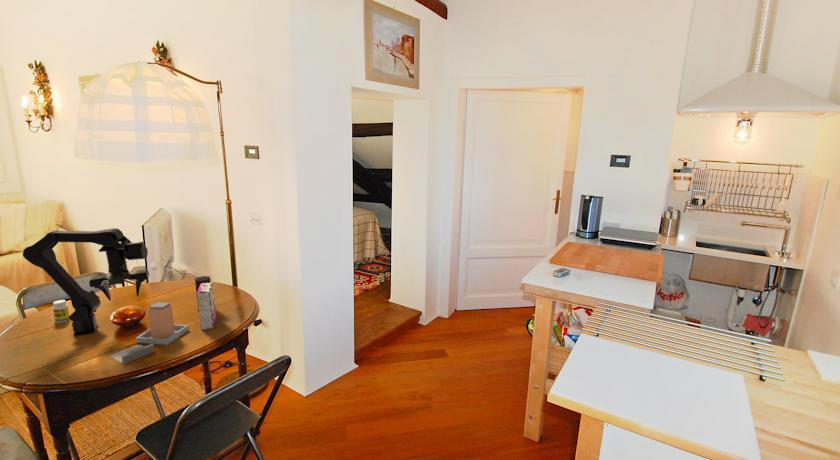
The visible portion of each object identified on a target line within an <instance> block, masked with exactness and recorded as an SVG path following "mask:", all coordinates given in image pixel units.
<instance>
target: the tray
mask: <svg viewBox="0 0 840 460" xmlns="http://www.w3.org/2000/svg"><path fill="white" fill-rule="evenodd" d="M174 328H175V333H174V334H173V335H171V336H170V337H168V338H167V339H159V338H152V337H151V330H150V328H149V329H148V330H146V331H144V332H143V333H141V334H139V335H138V336H136V337H135V341H136V343H138V344H147V345H150V344H153V345H161V346H168V345H169V344H171V343H173V342H174V341H175V340H177V339H178V338H180V337H181V336H182V335H184V334H186V333H188V332H189V331H190V328H189V325H187V324H175V323H174Z"/></svg>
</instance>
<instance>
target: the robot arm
mask: <svg viewBox="0 0 840 460" xmlns="http://www.w3.org/2000/svg"><path fill="white" fill-rule="evenodd" d="M59 243H93V244H97V246H98V245H99V246H101V247H100V248H99V250H98V252H99V253H102V252H105V254H106V260H107V265H108V266H107V267H108V268H107V269H108V270H107V271H108V273H107V277H106V276H105V274H103V275H93V276H92V278H90V279H89V281H88V282H89V283H88V285H89V288H94V289H99V290H100V291H101V292H102V293H103V294H104V295H105V296H106V298H107V300H109V301H112V296H111V291H110V288H109V286H114V285H122V284H124V283H125V280H133V279H135V282H134V283H135V291H136V297H139V296H140V291H141V285H142V283H144V282H145V281H146V280H148V279H149V277H150V272H149V270H148V269H140V270H139V269H138V270H136V272H135V273H130V271H129V269H128V265H127V260H128V261H135V260H146V259H147V258H148V255H149V254H148V253H149V252H148V247H147V246H146V244H145V243H144V241H139V242H132V241H131V240H130V239H128V237H126V236H125V235H124V232H123V231H122V230H120V229H119V228H114V227H113V228H106V229H102V230H93V231H90V230H89V231H88V230H87V231H85V230H83V231H82V230H60V229H59V230H58V229H55V230H53V231H49V232H48V233H46V234H45V235H44V236H43V237H41V239H39V240H38V241H37V242H35V243H33V244H32V245H29V246H26V248H25V247H24V249H23V251H22V257H23V258H24V259H25V260H26V261H28V262H29V263H30V264H32V265H33V266H35V267H37V268H40V269H42V270H43V271H44V272H45V273H46V274H47V275H48V277H50V278H51V279H52V280H53V281H54V282H55V284H57V286H58V287H59V288H60V289H61V290H62V291H63V292H64V293H65V294H66V295H67V296H68V297H69V298H70V302H71V306H72V308H73V309H74V311H73V312H72V313H71V314H69V318H70V319H69V320H70V321H71V325H72V330H73V336H79V335H86V334H94V333H95V332H96V331H97V330H98V328H99V324H98V323H97V319H96V312H97V311H98V310H97V309H98V308H100V306H101V299H100V298H101V297H100V296H98V294H96V292H95V291H94V290H90V291H87V290H85V289H84V288H83V287H81V285H80V284H79V283H78V282H77V281H76V280H75V279H74V278H73V277H72V276H71V275H70V274H69V272H68V271H67V270H66V269H65V268H64V267H63V266H62V265H61V264H60V263H59V261H58V260H57V256H56V253H55V251H54V250H53V248H55V247H56V246H57V245H58V244H59Z"/></svg>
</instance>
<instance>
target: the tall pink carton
mask: <svg viewBox="0 0 840 460" xmlns="http://www.w3.org/2000/svg"><path fill="white" fill-rule="evenodd" d="M147 313H148V321H149V329H150V330H151V337H152V338H159V339H167V338H168V337H170V336H171V335H173V334H174V333H175V328H174V324H175V321H174V313H173V305H172V304H170V302H155V303H153V304H151V305H149V308H147Z"/></svg>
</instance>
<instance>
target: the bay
mask: <svg viewBox="0 0 840 460" xmlns="http://www.w3.org/2000/svg"><path fill="white" fill-rule="evenodd" d="M154 352H155V344H147V345H146V346H144V345H142V344H141V343H138V344H136V345H133V346H130V347H128V348H125V349H123V350H121V351H118V352H115V353H113V354H110V355H109V357H110V358H112V359H115V361H118V362H120V363H121V364H123V365H125V364H128V363H130V362H132V361H136V360H137V359H140V358H143V357H145V356H147V355H149V354H151V353H154Z"/></svg>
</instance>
